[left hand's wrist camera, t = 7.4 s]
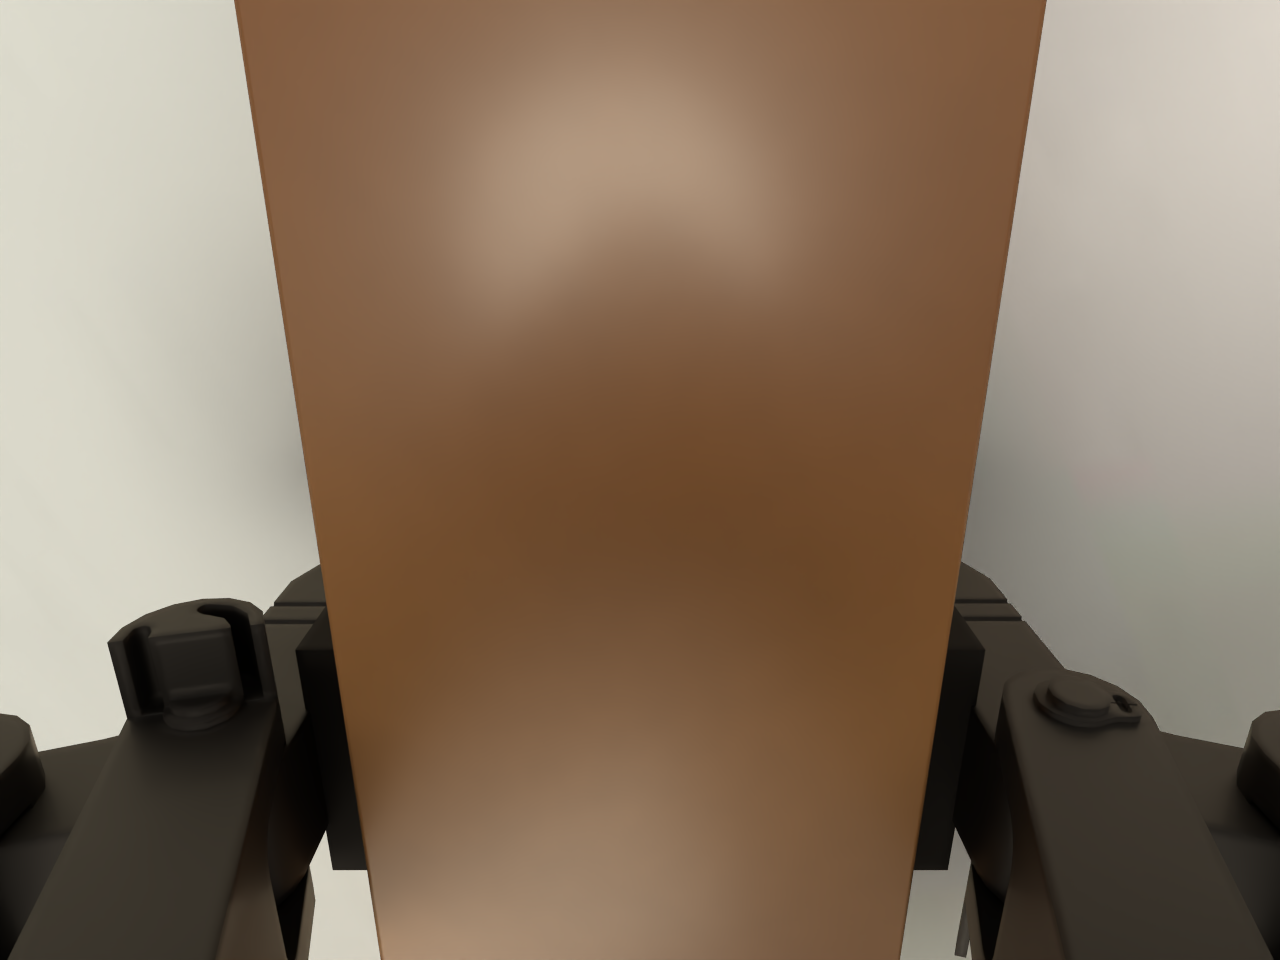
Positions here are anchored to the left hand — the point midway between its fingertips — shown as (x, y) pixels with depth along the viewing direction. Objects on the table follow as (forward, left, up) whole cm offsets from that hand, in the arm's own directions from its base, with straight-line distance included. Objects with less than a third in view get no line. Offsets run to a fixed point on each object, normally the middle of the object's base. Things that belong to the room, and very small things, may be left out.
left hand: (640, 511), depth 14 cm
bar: (-17, +29, -1) cm, 33 cm away
